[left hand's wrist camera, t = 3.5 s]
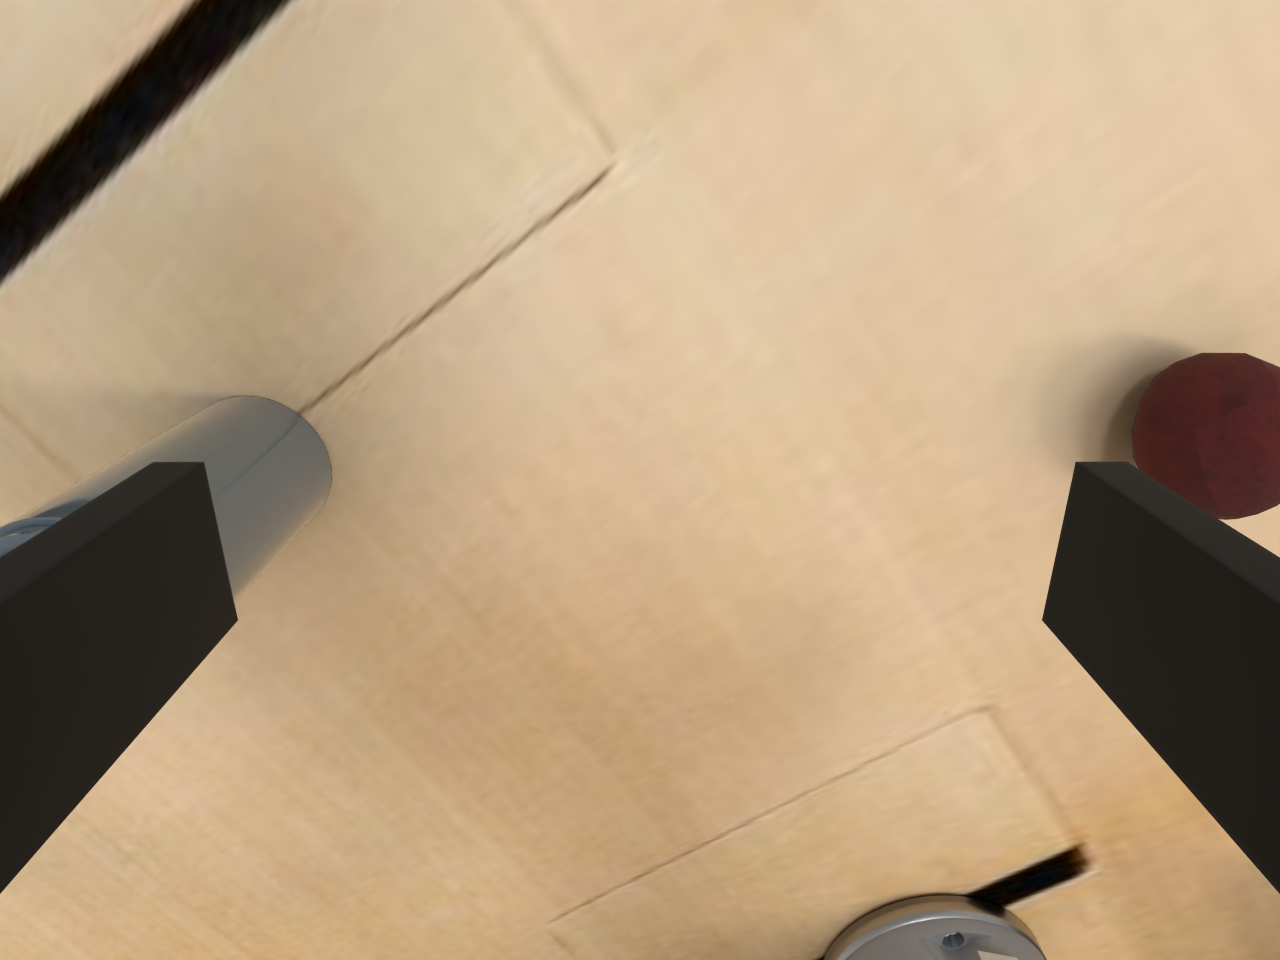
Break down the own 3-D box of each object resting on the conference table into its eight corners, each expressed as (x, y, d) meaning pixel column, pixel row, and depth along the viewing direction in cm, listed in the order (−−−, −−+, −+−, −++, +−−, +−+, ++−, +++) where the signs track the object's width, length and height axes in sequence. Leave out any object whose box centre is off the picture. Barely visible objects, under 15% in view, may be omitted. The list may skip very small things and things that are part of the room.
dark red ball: (1134, 507, 43) (1223, 570, 36) (1076, 388, 40) (1161, 433, 34) (1272, 433, 41) (1392, 486, 35) (1221, 305, 39) (1340, 335, 32)
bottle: (208, 535, 43) (-123, 826, 25) (167, 401, 41) (-242, 612, 22) (345, 525, 43) (118, 810, 24) (313, 389, 40) (28, 593, 22)
